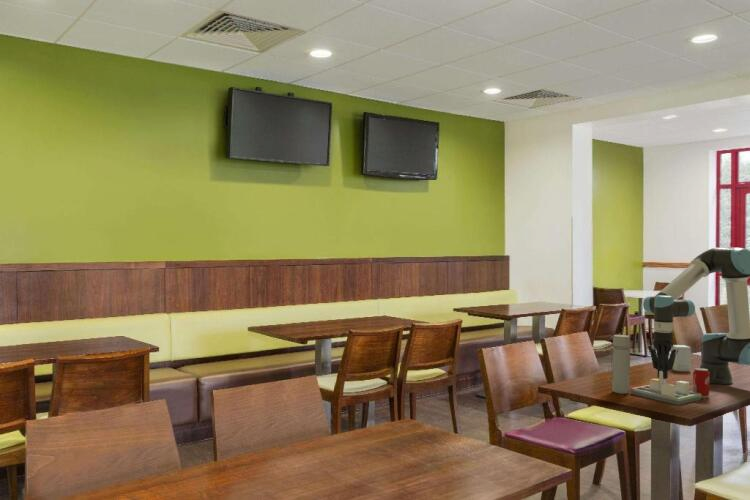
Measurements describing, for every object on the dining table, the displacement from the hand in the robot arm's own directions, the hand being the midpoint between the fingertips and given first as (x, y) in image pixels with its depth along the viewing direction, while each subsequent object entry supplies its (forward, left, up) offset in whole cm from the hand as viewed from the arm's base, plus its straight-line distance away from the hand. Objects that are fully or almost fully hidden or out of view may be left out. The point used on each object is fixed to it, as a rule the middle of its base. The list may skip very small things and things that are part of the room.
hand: (662, 385), depth 281 cm
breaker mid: (0, -3, -3) cm, 4 cm away
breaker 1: (+5, +6, -3) cm, 9 cm away
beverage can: (-13, +10, -5) cm, 17 cm away
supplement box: (-62, -29, -5) cm, 68 cm away
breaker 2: (-5, +6, -3) cm, 8 cm away
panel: (0, +2, -4) cm, 5 cm away
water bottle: (+10, -14, -5) cm, 18 cm away
